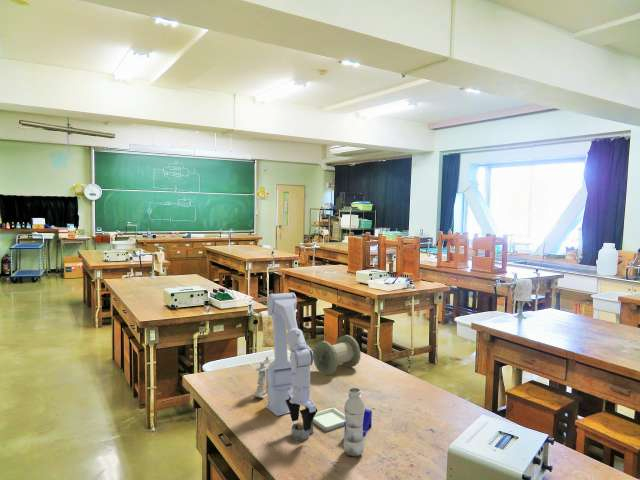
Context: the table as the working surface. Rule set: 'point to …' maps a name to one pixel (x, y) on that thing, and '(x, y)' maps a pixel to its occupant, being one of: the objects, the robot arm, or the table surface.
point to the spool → (336, 354)
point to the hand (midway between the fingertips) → (300, 425)
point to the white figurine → (262, 379)
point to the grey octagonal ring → (300, 432)
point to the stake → (300, 426)
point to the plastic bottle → (354, 423)
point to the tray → (329, 419)
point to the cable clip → (366, 421)
